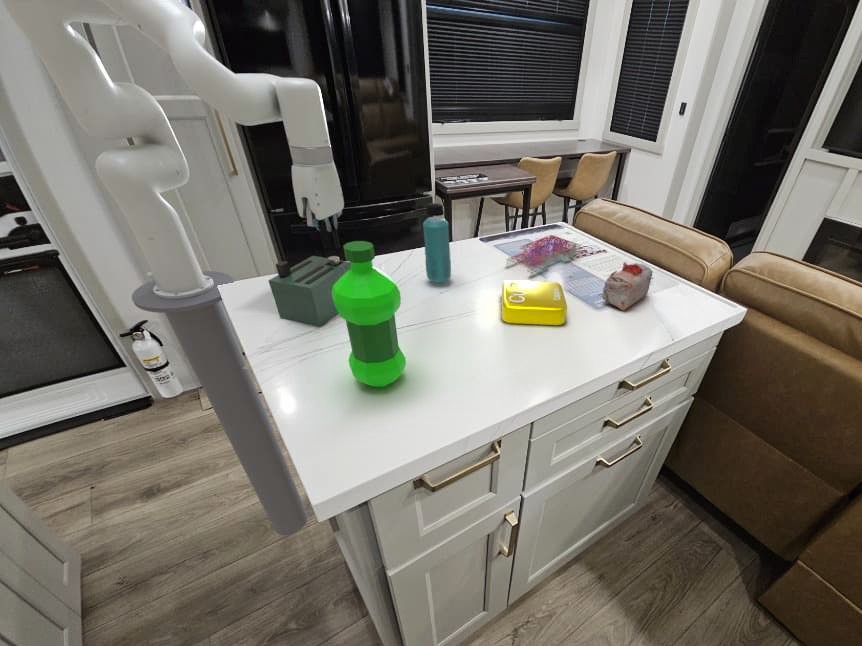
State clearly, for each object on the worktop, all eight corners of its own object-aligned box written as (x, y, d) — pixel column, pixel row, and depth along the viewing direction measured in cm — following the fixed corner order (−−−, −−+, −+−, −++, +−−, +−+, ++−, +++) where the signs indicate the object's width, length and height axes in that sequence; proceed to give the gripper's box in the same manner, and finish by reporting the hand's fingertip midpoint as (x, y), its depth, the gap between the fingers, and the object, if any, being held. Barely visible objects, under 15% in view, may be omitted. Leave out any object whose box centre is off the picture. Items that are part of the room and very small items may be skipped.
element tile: (565, 326, 97) (568, 308, 94) (501, 323, 96) (502, 304, 93) (558, 297, 109) (561, 280, 106) (501, 294, 108) (502, 277, 105)
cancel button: (327, 268, 95) (325, 259, 94) (333, 264, 97) (331, 255, 96) (336, 269, 95) (335, 260, 94) (342, 266, 97) (341, 256, 95)
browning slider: (278, 275, 88) (275, 264, 87) (285, 272, 90) (281, 260, 88) (285, 276, 88) (282, 265, 86) (291, 273, 89) (288, 262, 88)
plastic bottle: (399, 357, 83) (383, 231, 68) (415, 388, 76) (401, 254, 60) (346, 369, 79) (317, 237, 64) (359, 402, 72) (328, 263, 56)
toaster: (280, 318, 92) (267, 280, 86) (321, 290, 104) (312, 255, 98) (320, 326, 90) (310, 287, 85) (357, 297, 102) (350, 261, 96)
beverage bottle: (455, 285, 111) (453, 206, 99) (432, 289, 108) (427, 209, 96) (445, 275, 115) (442, 199, 103) (422, 279, 112) (416, 201, 100)
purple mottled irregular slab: (533, 281, 116) (534, 263, 113) (492, 265, 123) (493, 247, 120) (589, 254, 135) (592, 238, 132) (551, 242, 142) (553, 226, 139)
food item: (625, 314, 104) (634, 277, 98) (597, 303, 108) (605, 267, 102) (649, 297, 112) (659, 262, 106) (622, 288, 116) (631, 253, 110)
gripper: (318, 148, 88) (336, 235, 100) (269, 159, 77) (295, 256, 88) (350, 151, 87) (364, 239, 98) (305, 164, 75) (327, 262, 87)
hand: (331, 247), depth 93 cm, fingers closed
